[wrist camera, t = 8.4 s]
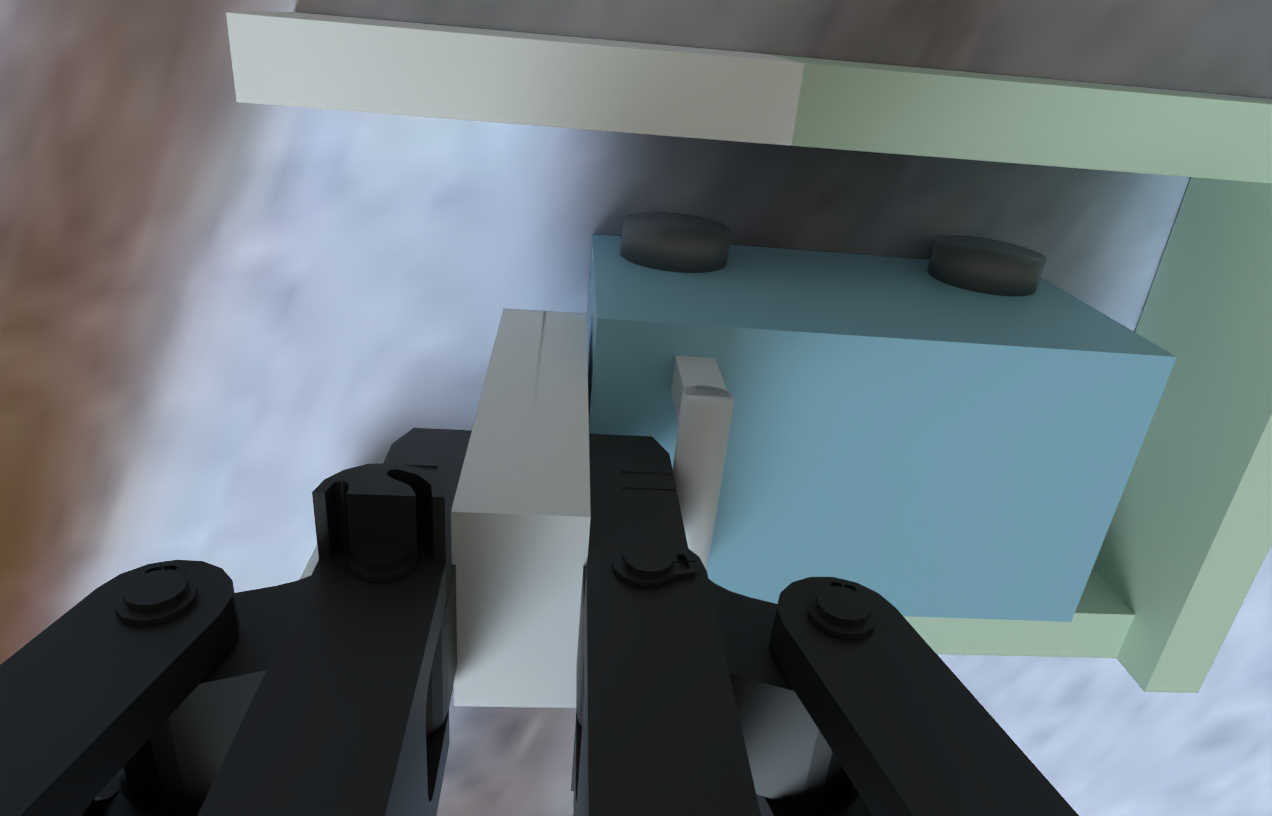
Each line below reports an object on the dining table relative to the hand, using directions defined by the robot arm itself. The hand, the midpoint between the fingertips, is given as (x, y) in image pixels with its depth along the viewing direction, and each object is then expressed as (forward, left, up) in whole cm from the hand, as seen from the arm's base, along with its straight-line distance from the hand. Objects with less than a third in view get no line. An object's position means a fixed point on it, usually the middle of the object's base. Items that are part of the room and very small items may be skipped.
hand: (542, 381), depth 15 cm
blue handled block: (+5, 0, -3) cm, 6 cm away
